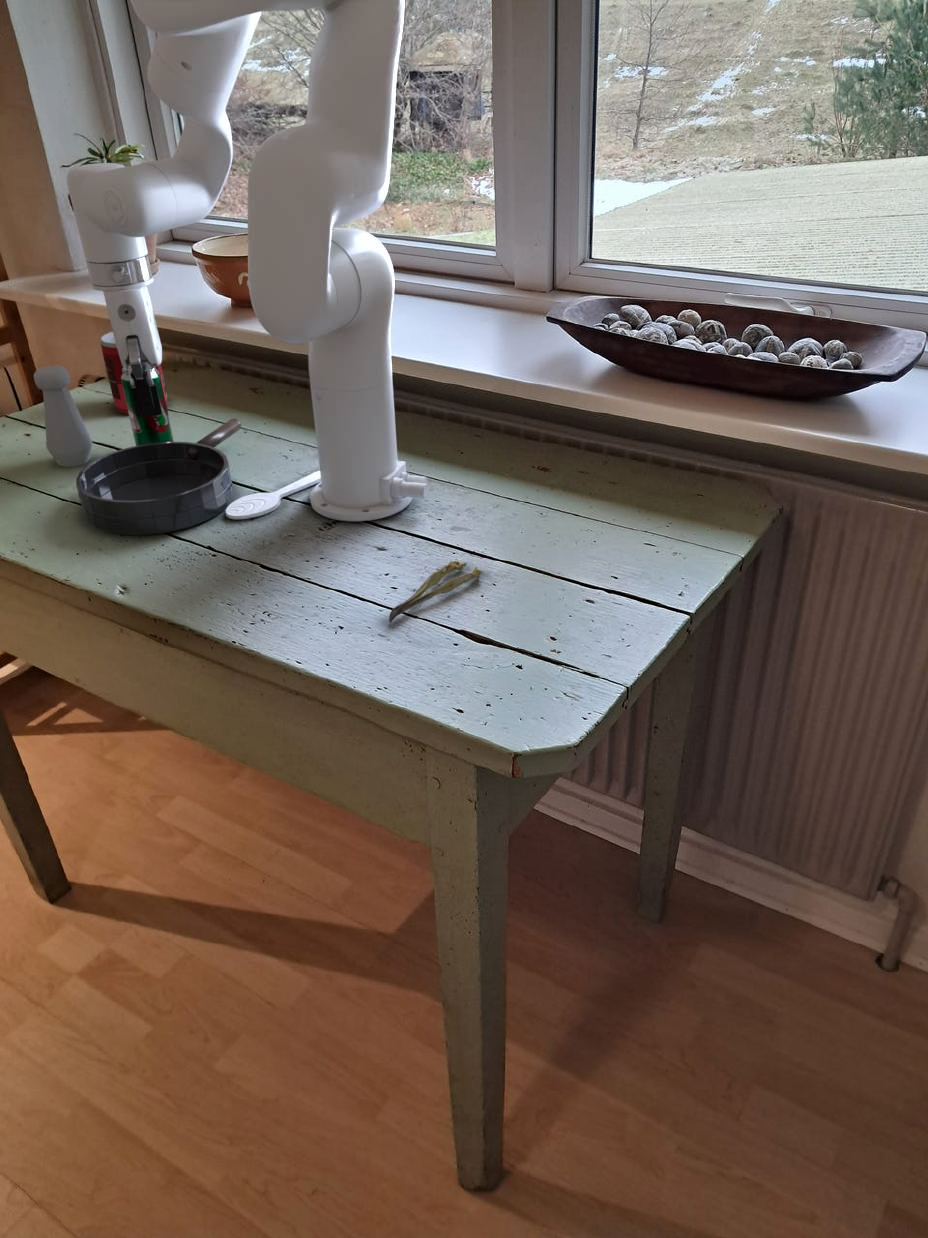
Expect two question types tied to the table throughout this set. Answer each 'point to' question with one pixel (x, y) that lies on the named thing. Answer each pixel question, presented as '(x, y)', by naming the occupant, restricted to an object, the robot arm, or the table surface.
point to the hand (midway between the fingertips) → (150, 403)
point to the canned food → (117, 371)
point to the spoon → (267, 499)
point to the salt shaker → (62, 418)
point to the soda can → (150, 426)
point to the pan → (154, 488)
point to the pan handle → (216, 436)
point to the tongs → (434, 581)
